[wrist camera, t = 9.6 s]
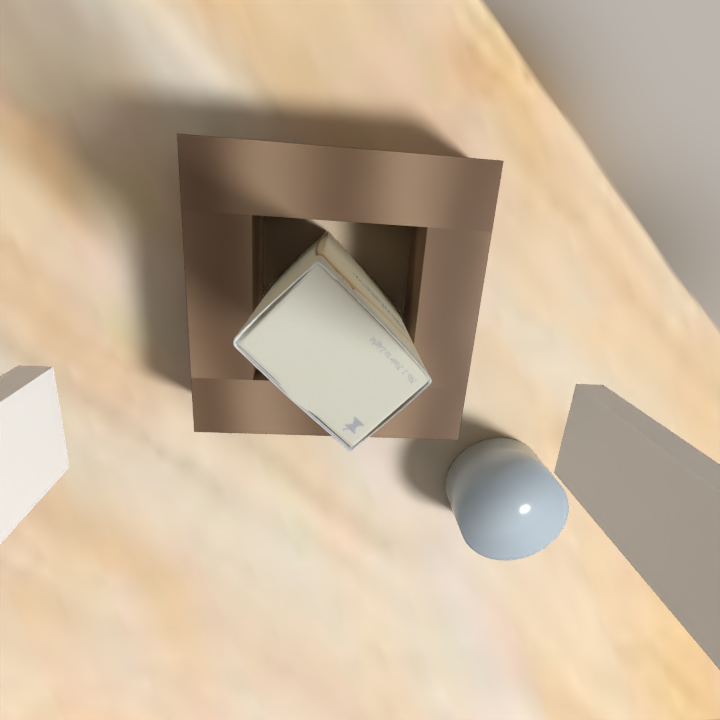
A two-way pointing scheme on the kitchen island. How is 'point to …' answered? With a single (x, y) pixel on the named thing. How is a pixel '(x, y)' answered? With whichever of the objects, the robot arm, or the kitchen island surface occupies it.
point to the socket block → (336, 203)
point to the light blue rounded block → (505, 499)
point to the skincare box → (334, 344)
